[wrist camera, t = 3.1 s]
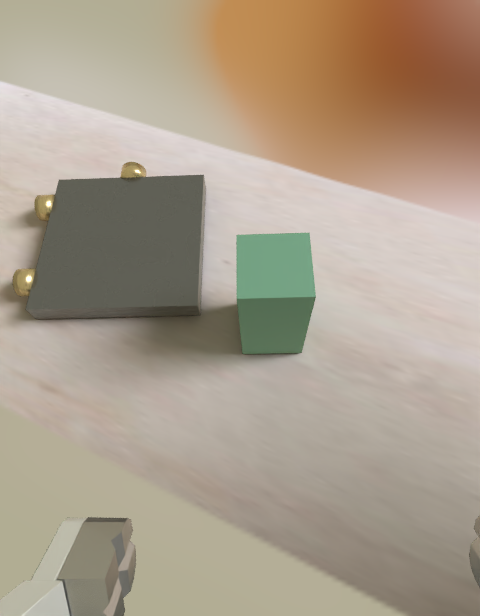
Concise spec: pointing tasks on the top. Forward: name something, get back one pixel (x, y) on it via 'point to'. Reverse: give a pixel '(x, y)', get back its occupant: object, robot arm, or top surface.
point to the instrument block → (274, 291)
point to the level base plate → (119, 248)
